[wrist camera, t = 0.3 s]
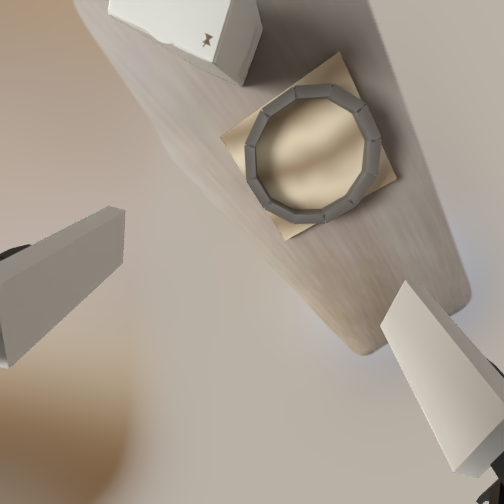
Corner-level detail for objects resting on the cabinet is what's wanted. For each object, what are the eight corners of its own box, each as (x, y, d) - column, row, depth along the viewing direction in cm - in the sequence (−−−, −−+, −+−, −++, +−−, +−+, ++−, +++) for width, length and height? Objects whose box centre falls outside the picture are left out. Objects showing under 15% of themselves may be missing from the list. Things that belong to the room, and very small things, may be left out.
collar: (221, 136, 37) (215, 137, 33) (337, 53, 32) (344, 45, 29) (285, 237, 42) (285, 247, 38) (393, 177, 37) (405, 182, 34)
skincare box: (264, 29, 32) (254, -47, 18) (241, 92, 35) (217, 69, 20) (193, -7, 31) (124, -117, 17) (175, 60, 34) (102, 13, 20)
